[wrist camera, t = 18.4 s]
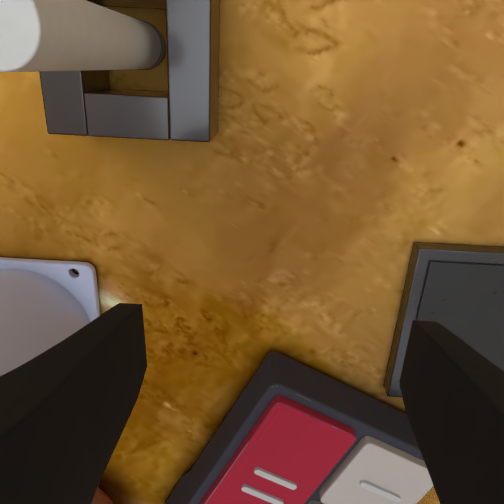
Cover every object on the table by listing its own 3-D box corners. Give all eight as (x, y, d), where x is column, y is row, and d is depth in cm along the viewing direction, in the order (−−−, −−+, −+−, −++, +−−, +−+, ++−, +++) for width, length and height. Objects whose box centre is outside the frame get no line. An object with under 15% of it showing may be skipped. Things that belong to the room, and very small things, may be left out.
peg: (123, 68, 19) (-45, 71, 9) (120, 20, 18) (-68, -40, 8) (166, 70, 19) (47, 75, 9) (164, 22, 18) (32, -35, 8)
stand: (77, 124, 20) (47, 134, 17) (59, -42, 17) (19, -64, 14) (218, 131, 20) (210, 142, 17) (220, -35, 17) (211, -54, 14)
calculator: (459, 477, 22) (306, 634, 27) (427, 417, 26) (299, 563, 31) (273, 391, 20) (144, 577, 25) (270, 341, 24) (159, 509, 29)
